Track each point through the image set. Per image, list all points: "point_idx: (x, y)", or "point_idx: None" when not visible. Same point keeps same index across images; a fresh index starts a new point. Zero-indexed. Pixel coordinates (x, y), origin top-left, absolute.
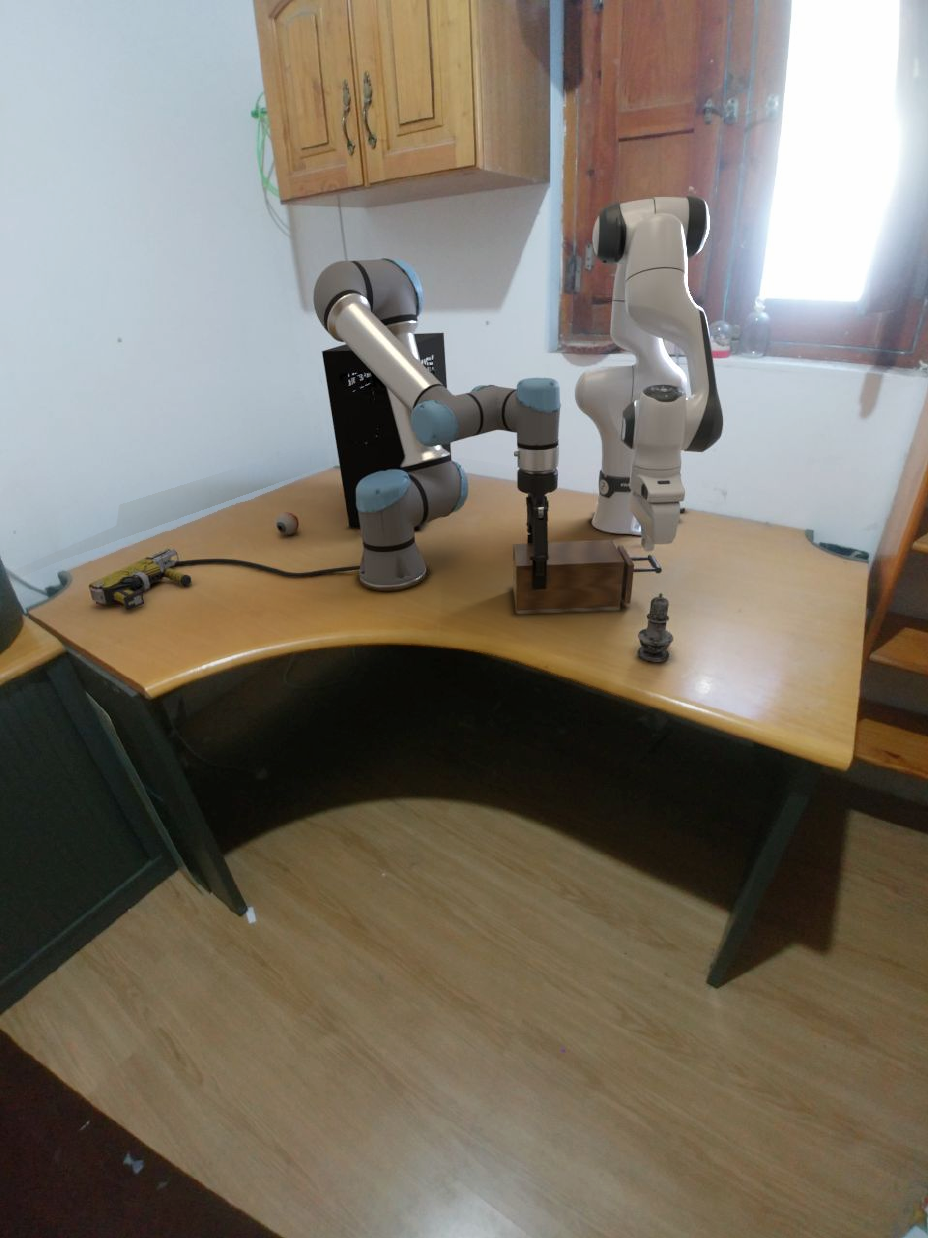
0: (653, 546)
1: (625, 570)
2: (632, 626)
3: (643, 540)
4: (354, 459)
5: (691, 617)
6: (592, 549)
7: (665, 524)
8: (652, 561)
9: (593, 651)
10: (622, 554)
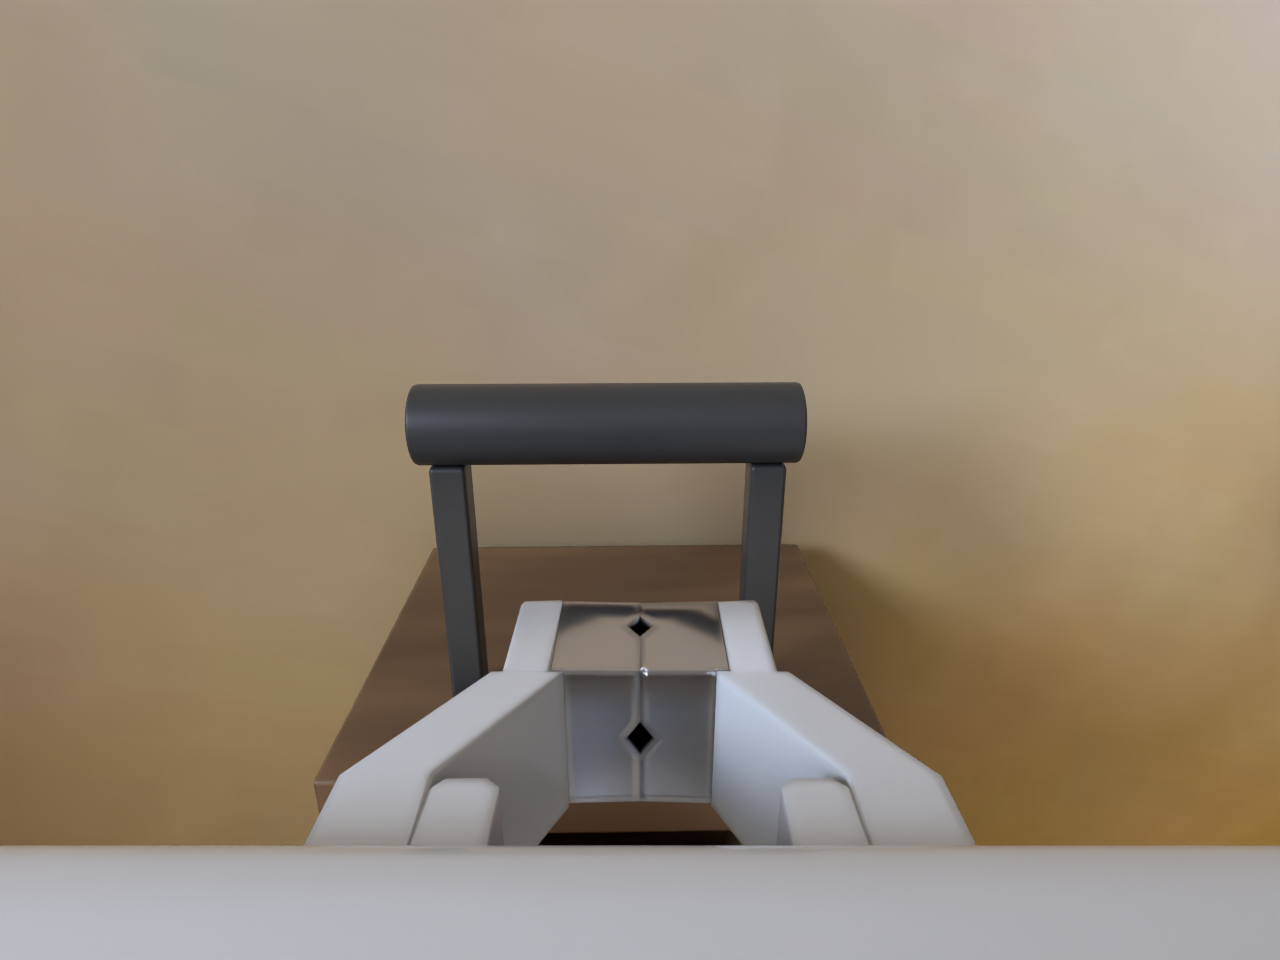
0: (761, 636)
1: None
2: (1029, 559)
3: (641, 798)
4: None
5: (1017, 96)
6: None
7: None
8: (603, 456)
9: (1224, 797)
10: (595, 830)
